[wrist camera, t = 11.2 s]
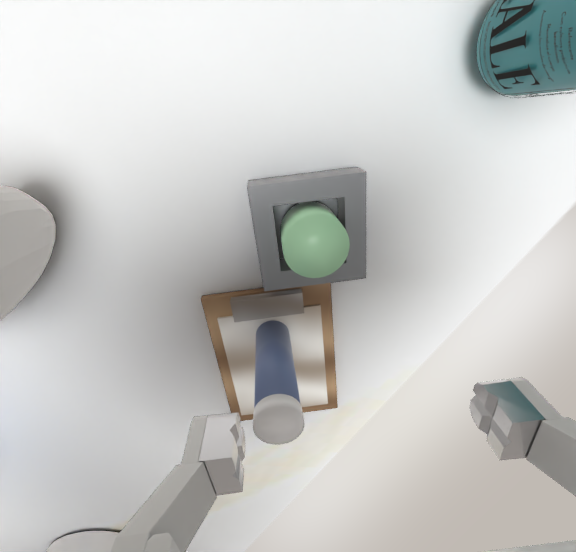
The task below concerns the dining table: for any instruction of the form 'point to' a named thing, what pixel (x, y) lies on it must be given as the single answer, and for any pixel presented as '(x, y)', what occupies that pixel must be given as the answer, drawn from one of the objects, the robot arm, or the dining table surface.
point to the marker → (276, 386)
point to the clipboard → (303, 335)
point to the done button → (313, 240)
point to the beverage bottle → (529, 47)
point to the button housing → (306, 188)
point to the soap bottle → (22, 245)
